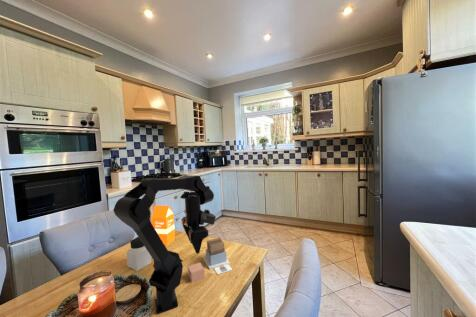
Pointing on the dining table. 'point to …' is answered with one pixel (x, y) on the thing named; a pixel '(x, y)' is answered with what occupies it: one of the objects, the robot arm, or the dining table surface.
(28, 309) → the dining table surface
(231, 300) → the dining table surface
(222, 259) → the grey square block
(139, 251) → the medicine bottle
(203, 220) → the robot arm
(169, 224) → the orange juice
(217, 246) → the walnut brick
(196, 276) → the terracotta brick
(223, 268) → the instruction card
